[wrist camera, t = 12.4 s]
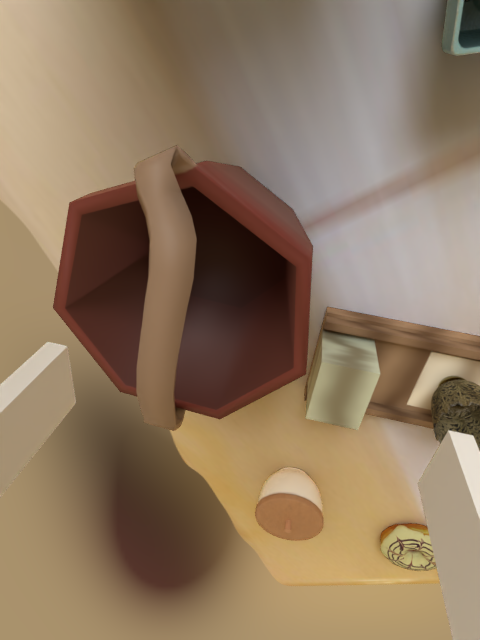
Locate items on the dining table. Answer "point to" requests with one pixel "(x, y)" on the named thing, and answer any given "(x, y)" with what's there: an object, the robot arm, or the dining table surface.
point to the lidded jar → (290, 505)
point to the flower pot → (462, 27)
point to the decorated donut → (408, 547)
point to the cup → (456, 408)
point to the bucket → (188, 287)
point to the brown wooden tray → (383, 368)
